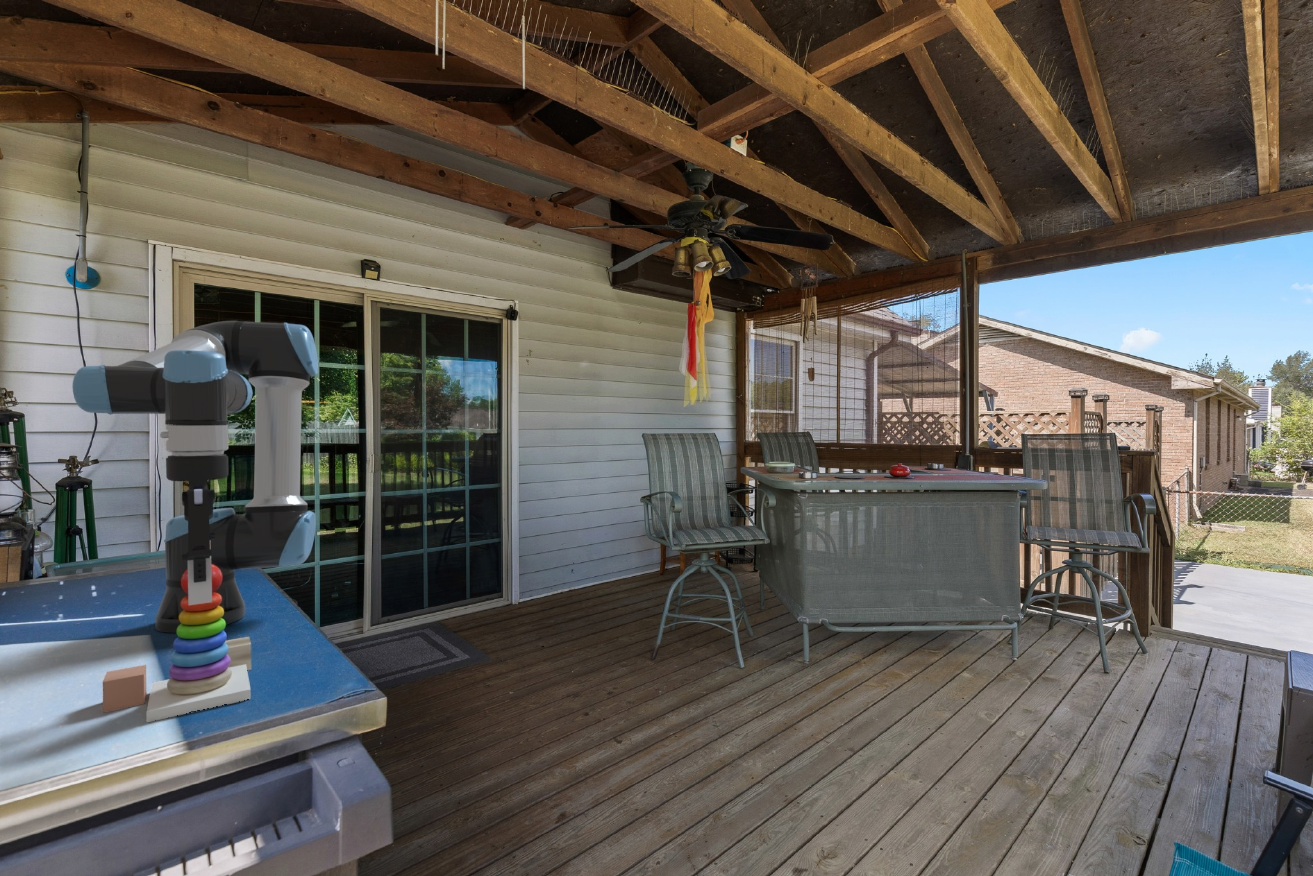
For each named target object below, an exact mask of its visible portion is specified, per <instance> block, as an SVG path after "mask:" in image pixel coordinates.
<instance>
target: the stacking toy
mask: <svg viewBox="0 0 1313 876" xmlns="http://www.w3.org/2000/svg"><path fill="white" fill-rule="evenodd" d="M211 572H212V602H209V603H202V604H195V605H189V603H188V596H186V597H184V598H183V599H182V601H181V607H182V609H184V611H182V612H181V613H180V615H179V621H180V622H181V623H182V624H180V625H179V626H178V628H177V632H176V636H178V637H176V638H175V640H173V644H172V647H173V650H174V651H173V653H172V654H171V657H170V661H171V663H172V664H171V665H170V667H169V671H168V673H169V676H170V678H168V679H169V681H168V683H167V688H168V690H169V691H170V692H172V693H175V694H181V695H187V694H196V693H202V692H206V691H209V690H212V689H215V688H218V687H220V686H222V685H223V684H225V683H226V682H227V681H229V679H230V678H231V676H232V670H231V669H230V668H229V665H230V662H231V660H230V657H229V656H228V655H227V653H228V650H229V648H228V645H227V644H226V643H224V642H225V641H227V637H228V636H227V633H226V632H225V628H226V626H227V624H226V622H225V620H224V619H222V616H223V615H224V610H223V608H222V607H221V606H219V605H220V604H221V602H222V597H221V595H220V594H218V593H215V591H216V590H217V589H218V588H219V586H220V585H221V583H222V573H221V571H220V569H219V568H218V567H217V566H215V565H213V564H211ZM181 586H182V588H183V590H184V591H185V592H186V593H187V594H188V569H187V570H186V571H185V572H184V574H183V576H182V578H181Z"/></svg>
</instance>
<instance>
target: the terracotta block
mask: <svg viewBox="0 0 1313 876" xmlns="http://www.w3.org/2000/svg"><path fill="white" fill-rule="evenodd" d="M146 696H147V664H142V665H137V666H132V667H127V668H121V669H115V670H111V671H110V670H109V671H106V672H105V676H104V678H103V680H102V712H103V713H107V712H111V711H116V710H117V711H118V710H122V709H126V708H130V707H135V706H139V705H140V706H141V705H144V704H145V702H146Z"/></svg>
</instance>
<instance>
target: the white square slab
mask: <svg viewBox="0 0 1313 876" xmlns="http://www.w3.org/2000/svg"><path fill="white" fill-rule="evenodd" d="M229 668H230V669H231V670H232V676H231V678H230V679H229V681H227V682H226V683H225V684H223V685H222V686H220V687H218V688H215V689H212V690H209V691H206V692H202V693H196V694H187V695H181V694H175V693H172V692H170V691H169V690H168V688H167V683H168V681H169V679H170V678H168V679H164V680H159V681H154V682H152V684H151V688H150V692H149V693H150V694H149V697H148V701H147V702H148V703H147V708H146V723H152V722H155V720H156V721H160V720H164V719H168V717H169V718H172V717H177V715H178V716H182V715H186V713H187V714H190V713H189V712H191V711H196V712H198V711H197V710H200V711H204V710H203V709H205V710H208V709H207V708H209V709H213V707H214V708H217V707H216V706H218V707H221V706H222V705H223V706H225V705H224V704H227V705H230V704H231V705H232V704H235V703H239V701H240V702H244V700H245V701H248V700H247V699H249V700H252V699H251V697H252V694H251V690H252V689H251V683H250V678H249V673H248V672H249V671H247V666H246V664H245V665H240V666H235V667H229ZM191 713H192V712H191Z"/></svg>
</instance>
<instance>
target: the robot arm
mask: <svg viewBox="0 0 1313 876" xmlns="http://www.w3.org/2000/svg"><path fill="white" fill-rule="evenodd" d="M171 340H172V341H171V342H170V343H167V344H166V345H163V346H161V347H159V348H156V349H154V350H152V351H150V352H148V353H144V354H143V355H140V356H138V357H136V358H133V359H132V360H128V361H126V362H124V363H122V364H119V365H105V364H100V365H87V366H82V367H81V368H79V369H78V370H77V371H76V372H75V374H74V377H73V378H72V379H73V380H72V393H73V398H74V401H75V403H76V405H77V406H78V407H79V408H80V410H83V411H84V412H86V413H92V414H95V413H96V414H108V415H110V416H111V415H119V414H121V415H124V414H125V415H133V414H134V415H140V414H141V415H144V414H145V415H151V414H152V415H158V414H159V415H162V414H163V415H164V417H165V421H164V422H165V423H164V424H165V430H167V431H161V432H160V434H159V437H160V438H162V439H167V440H166V441H165V451H166V452H168V453H171V455H168V456H167V457H166V458H165V469H166V471H165V474H166V475H165V477H166V479H167V480H168V481H171V482H188V483H187V488H188V489H187V490H186V491H182V492H181V504H182V506H183V514H182V515H178V516H174V517H173V518H171V519H169V520H168V522H167V523H166V525H165V539H164V540H163V541H164V549H165V553H164V554H165V591H164V594H163V596H162V598H161V599H162V600H161V602H160V605H159V608H158V610H157V613H156V615H155V629H156V630H157V631H158V632H162V633H177V628H178V626H179V625H180V624H182V623H181V622H180V621H179V615H180V613H181V612H182V611H184V609H182V607H181V601H182V599H183V598H184V597H186V596H188V603H189V605H195V604H202V603H209V602H212V572H211V564H213V565H215V566H217V567H218V568H219V569H220V571H221V573H222V583H221V585H220V586H219V588H218V589H217V590H216V591H215V593H218V594H220V595H221V597H222V602H221V604H220V605H219V606H221V607H222V608H223V610H224V615H223V616H222V619H224V620H225V622H226V625H229V624H230V625H231V624H232V623H236V622H237V621H240V620H242V619H243V618H244V617H245V616H246V603H245V601H244V599H243V596H242V593H241V592H240V590H239V587H238V584H237V582H236V571H237V570H248V569H249V570H250V569H251V570H252V569H264V568H266V569H267V568H284V567H291V566H299V565H302V564H303V563H304V562H305V561H306V560H307V559H308V558H309V556H310V555H311V552H312V549H313V545H314V542H315V541H314V540H315V535H316V529H317V528H316V527H317V519H316V518H317V517H316V513H315V512H314V511H311V510H308V502H306V501H305V500H304V499H303V498H302V497H301V494H300V492H301V455H302V454H301V449H302V447H301V445H302V443H301V442H302V393H303V391H304V389H306V388H307V387H308V386H310V381H311V379H310V377H311V378H313V377H316V376H317V375H318V374H319V358H318V352H317V347H316V343H315V338H314V337H313V334H312V332H311V330H310V329H309V328H308V327H307V326H306V325H303V324H295V323H288V322H264V321H259V322H258V321H239V320H223V321H217V322H211V323H208V324H203V325H202V324H201V325H199V326H196V327H192V328H190V329H187V330H185V331H182V332H180V333H178V334H177V335H176V336H174V337H173V339H171ZM243 375H248V379H247V378H246V377H244V376H243ZM252 386H253V387H254V388H255V389H256V397H255V399H256V402H255V405H256V406H255V436H254V437H255V438H254V439H255V441H254V472H253V473H254V481H253V482H254V483H253V485H254V486H253V498H252V499H251V501H249V502H247V504H246V505H244V513H243V514H236V511H235V509H234V508H232V507H226V508H225V507H224V508H223V507H222V508H216V509H214V504H215V502H216V500H215V499H216V496H215V495H216V494H215V489H209V486H210V482H209V481H213V480H214V481H215V480H223V479H225V478H228V477H229V456H228V455H227V454H226V453H225V451H227V450H229V425H228V416H231V415H233V414H238V413H240V412H241V411H243V410H244V409H246V408H247V407H248V406H249V405H250V403H251V401H252V399H253V394H254V393H253V389H252ZM187 569H188V594H187V593H186V592H185V591H184V590H183V588H182V586H181V578H182V576H183V574H184V572H185V571H186V570H187Z"/></svg>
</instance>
